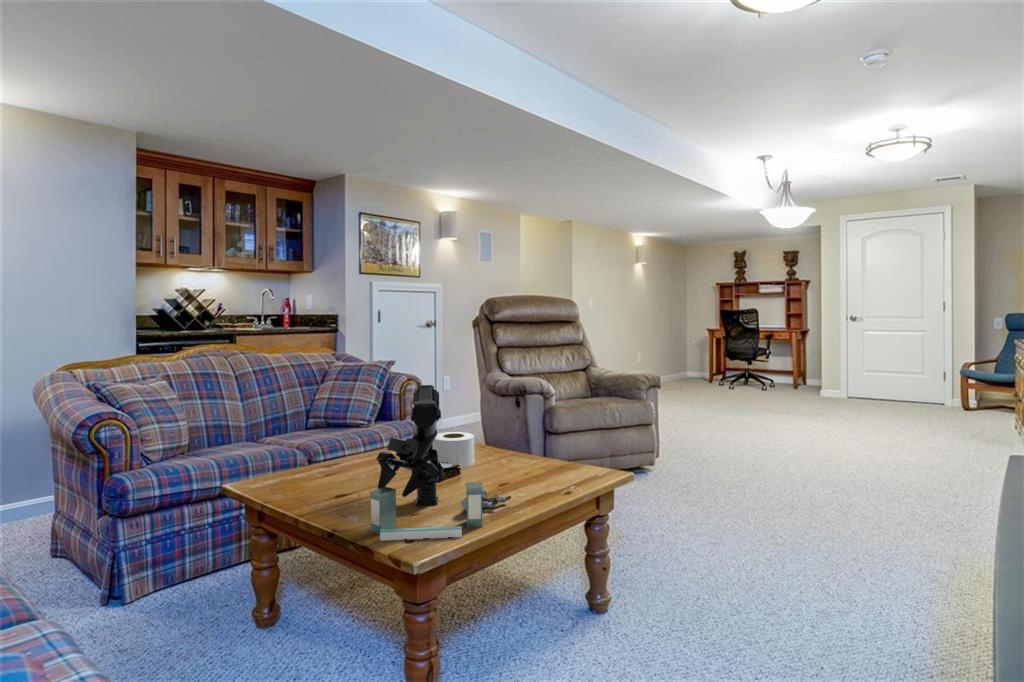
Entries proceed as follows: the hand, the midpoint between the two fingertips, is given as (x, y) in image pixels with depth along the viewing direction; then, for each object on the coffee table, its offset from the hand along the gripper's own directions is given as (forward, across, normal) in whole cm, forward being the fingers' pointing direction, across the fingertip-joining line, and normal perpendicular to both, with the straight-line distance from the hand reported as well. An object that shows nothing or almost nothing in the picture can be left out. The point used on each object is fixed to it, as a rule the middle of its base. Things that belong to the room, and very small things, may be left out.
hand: (390, 493), depth 151 cm
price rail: (+7, +11, +6) cm, 15 cm away
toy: (-12, +10, +25) cm, 29 cm away
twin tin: (-4, +16, +17) cm, 24 cm away
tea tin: (+8, 0, +5) cm, 10 cm away
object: (-36, -31, +49) cm, 68 cm away
